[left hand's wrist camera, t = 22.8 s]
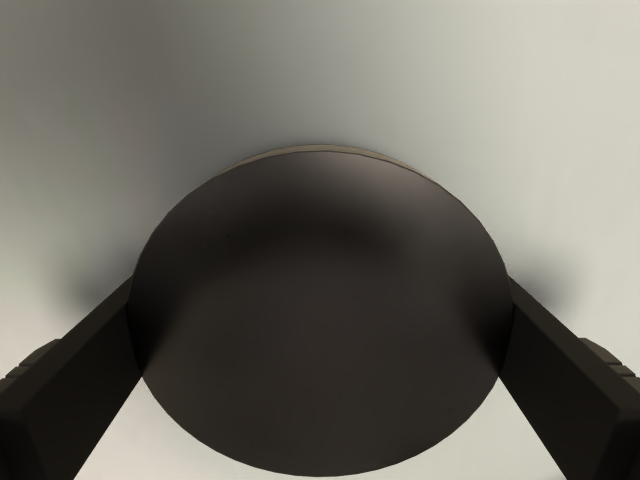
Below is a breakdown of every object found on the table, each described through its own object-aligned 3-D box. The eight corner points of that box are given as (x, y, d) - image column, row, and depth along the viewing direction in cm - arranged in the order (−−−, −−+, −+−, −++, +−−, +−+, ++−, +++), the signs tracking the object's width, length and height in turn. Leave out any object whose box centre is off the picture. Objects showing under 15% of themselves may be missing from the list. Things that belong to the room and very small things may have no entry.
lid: (479, 428, 14) (498, 465, 13) (193, 450, 14) (179, 488, 13) (504, 123, 10) (536, 126, 8) (103, 166, 10) (68, 175, 9)
